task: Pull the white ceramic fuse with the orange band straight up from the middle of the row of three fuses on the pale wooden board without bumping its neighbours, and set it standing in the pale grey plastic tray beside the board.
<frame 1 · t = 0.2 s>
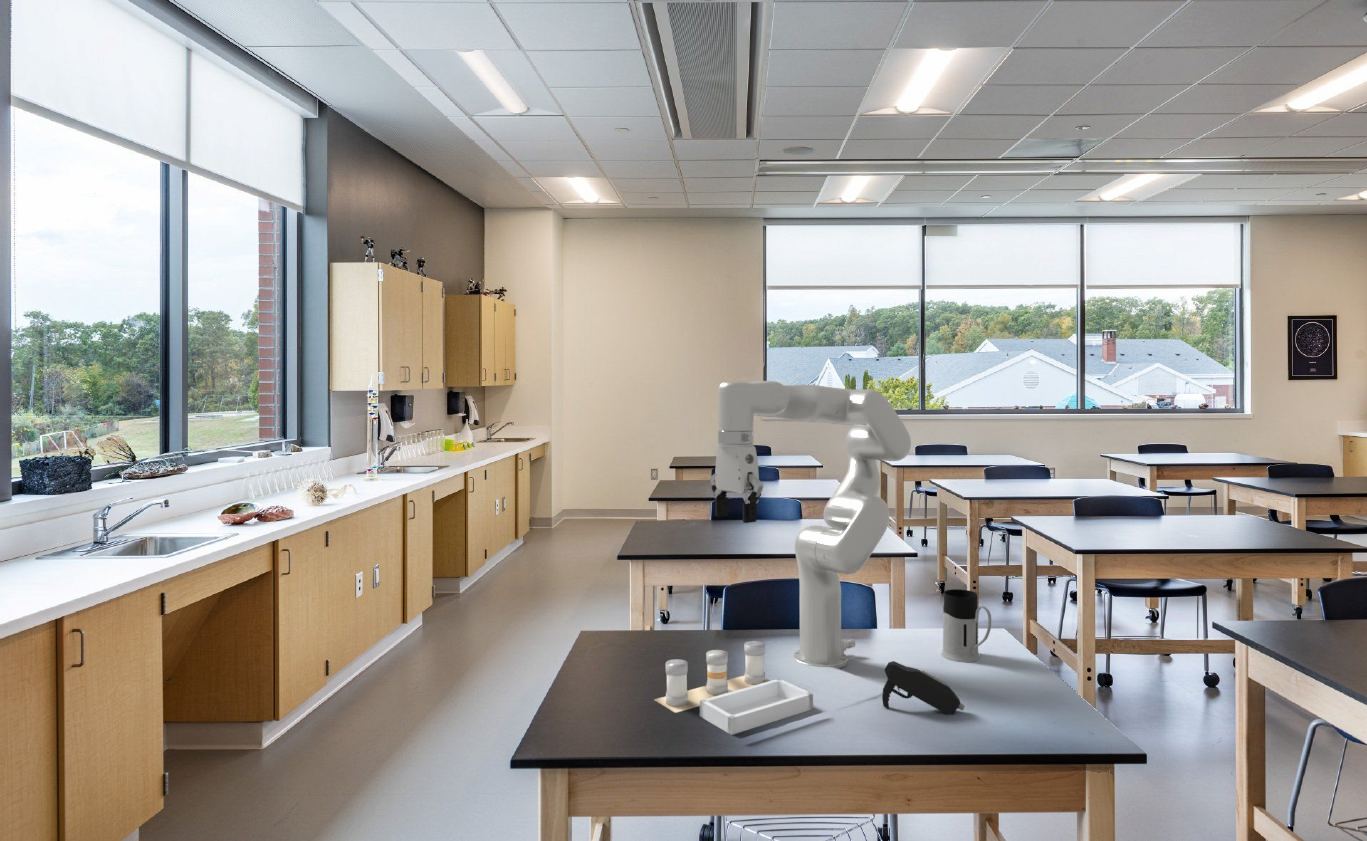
hand: (735, 519, 167), 36 cm above the table, tool pointing down, fingers open, 9 cm apart
fuse 2: (754, 681, 168), point 1 cm above the table, touching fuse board
fuse 1: (676, 702, 157), point 1 cm above the table, touching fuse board
marked fuse: (717, 691, 162), point 1 cm above the table, touching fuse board
tray: (756, 717, 151), on the table
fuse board: (717, 696, 162), on the table
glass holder: (968, 660, 183), on the table
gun: (922, 711, 154), on the table
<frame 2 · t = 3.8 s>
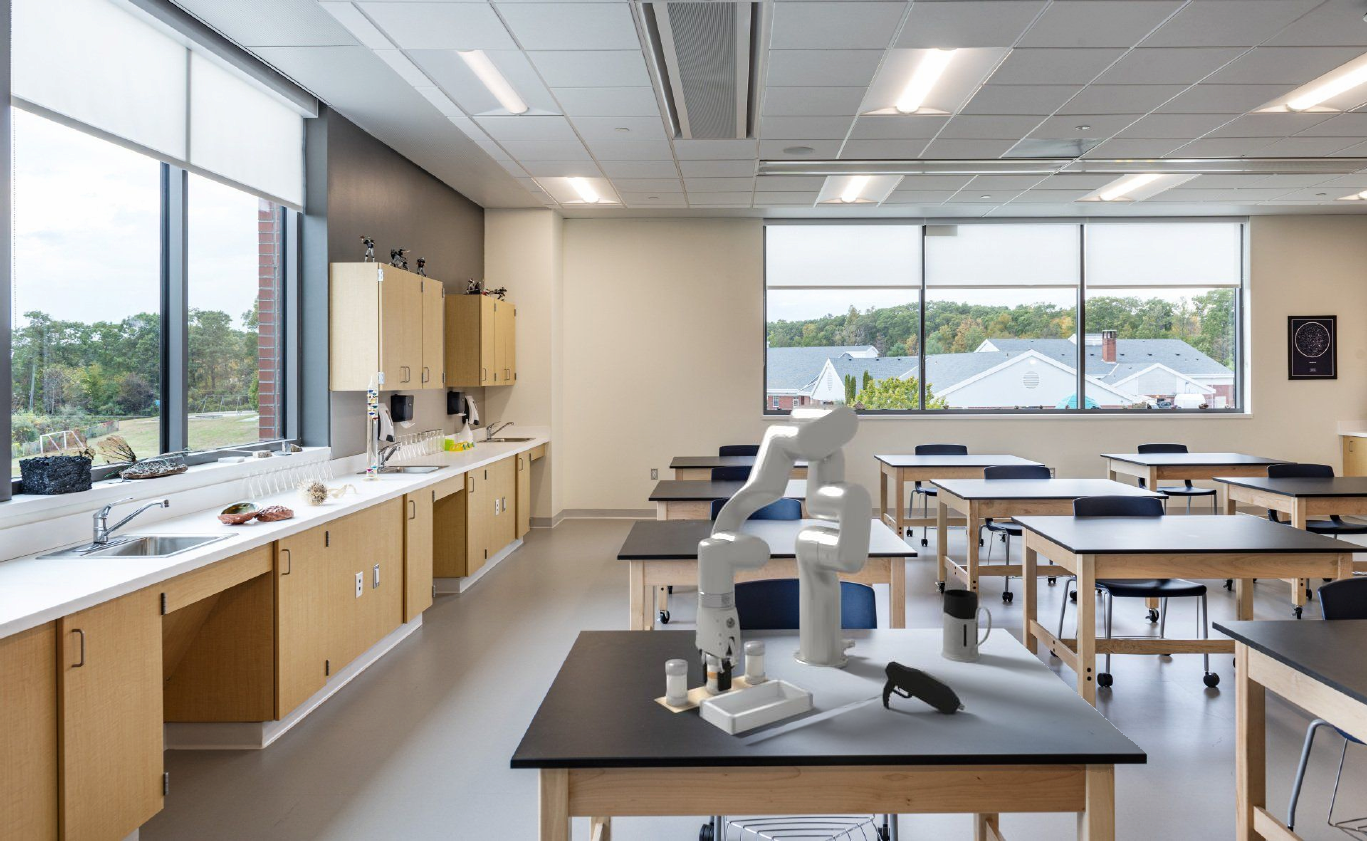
hand: (717, 685, 162), 2 cm above the table, tool pointing down, fingers closed on marked fuse, 4 cm apart
marked fuse: (717, 691, 162), point 1 cm above the table, touching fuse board, gripper
everything else where it was.
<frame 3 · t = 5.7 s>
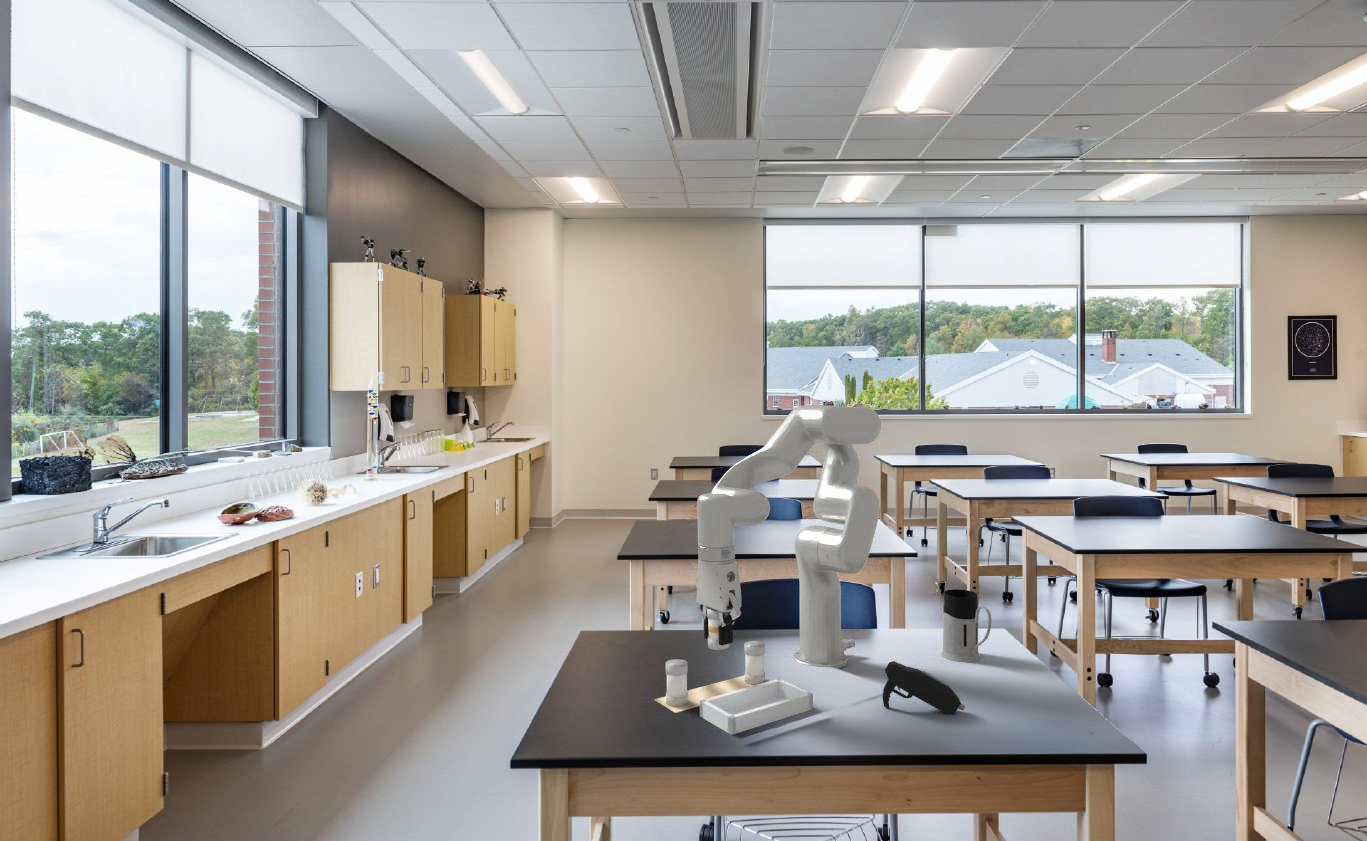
hand: (718, 639, 162), 12 cm above the table, tool pointing down, fingers closed on marked fuse, 4 cm apart
marked fuse: (718, 646, 162), point 10 cm above the table, touching gripper
everything else where it was.
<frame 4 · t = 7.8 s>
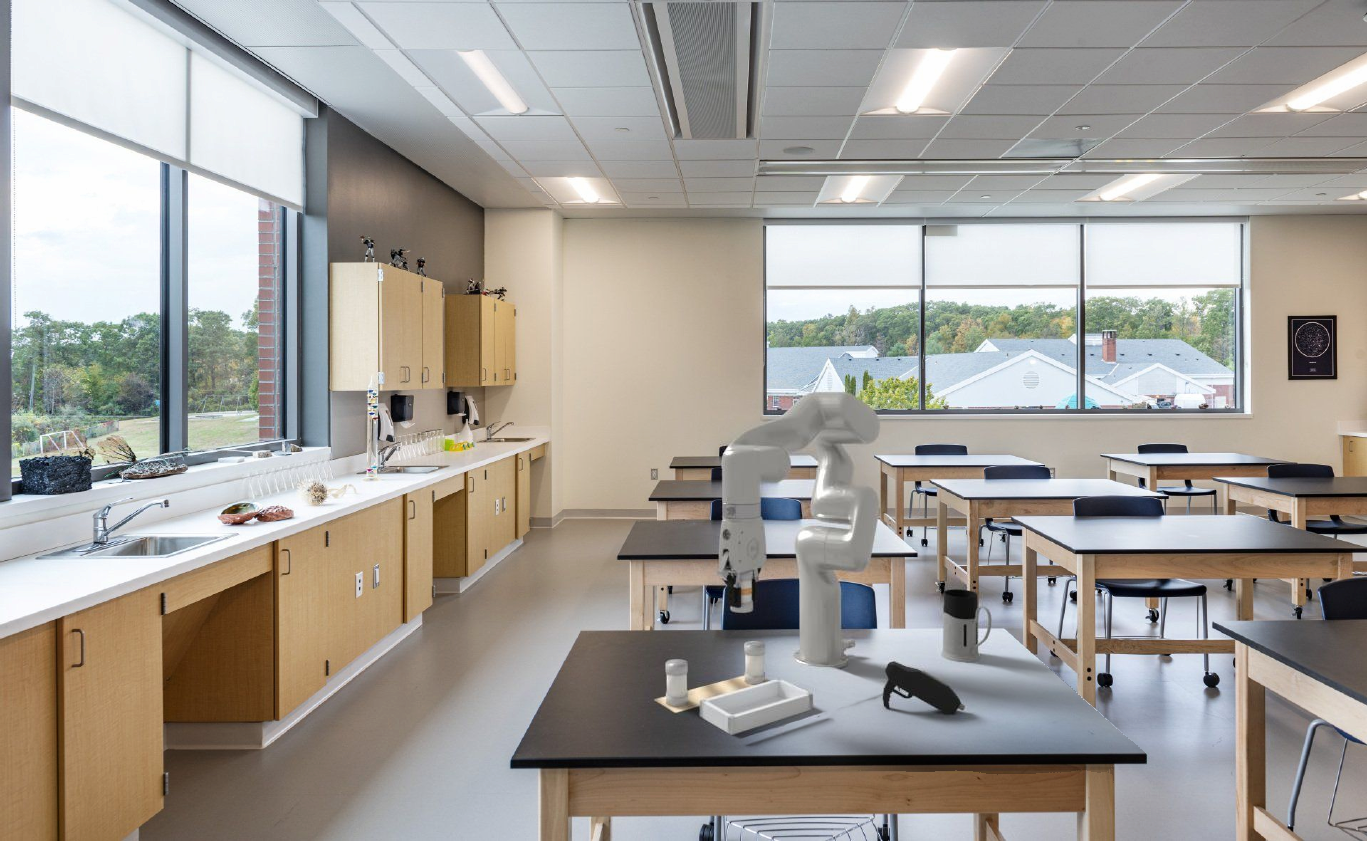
hand: (741, 602, 154), 22 cm above the table, tool pointing down, fingers closed on marked fuse, 4 cm apart
marked fuse: (741, 609, 154), point 20 cm above the table, touching gripper
everything else where it was.
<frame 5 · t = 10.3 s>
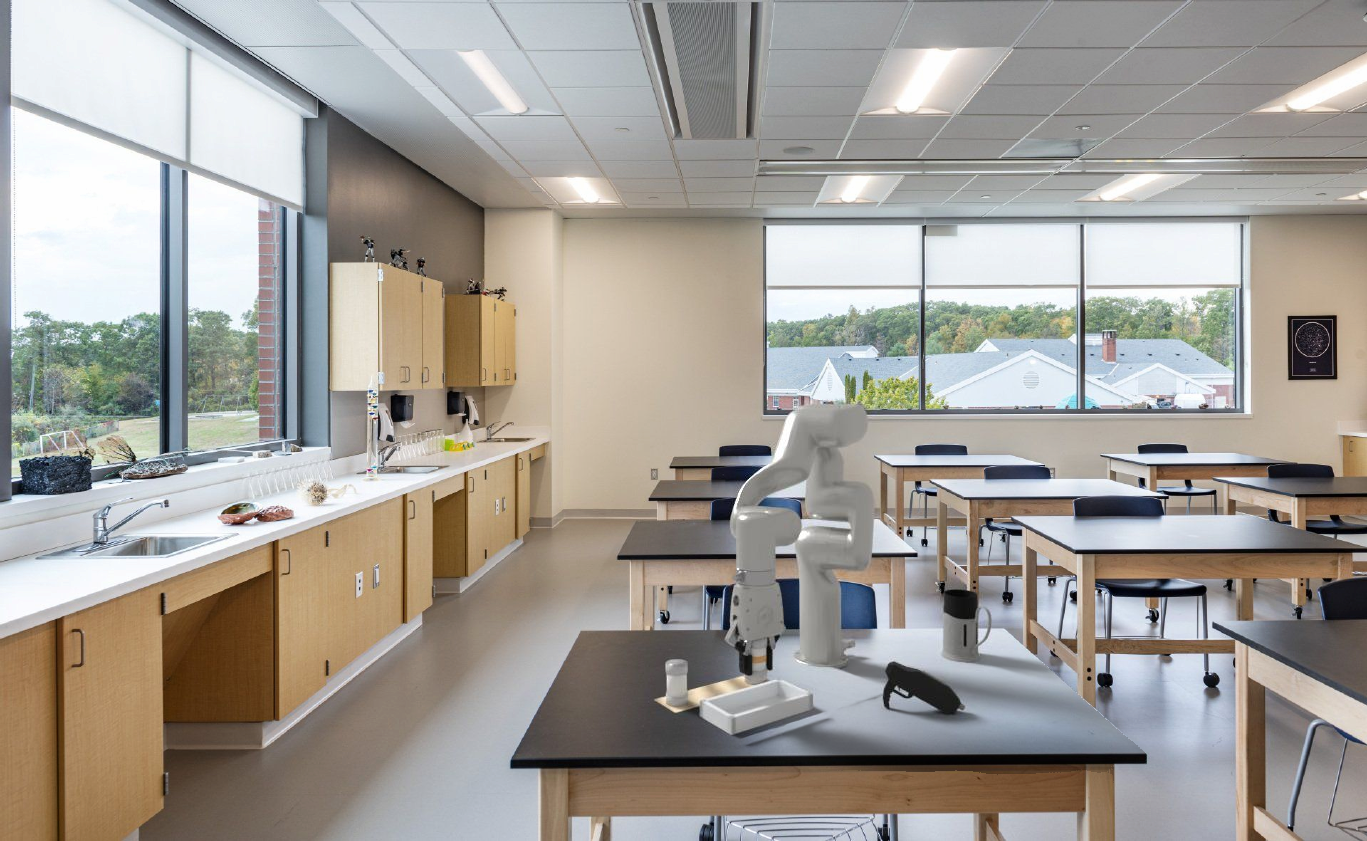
hand: (756, 670, 151), 9 cm above the table, tool pointing down, fingers closed on marked fuse, 4 cm apart
marked fuse: (755, 677, 151), point 8 cm above the table, touching gripper
everything else where it was.
when the fingers open (5 cm above the table, at t = 12.0 s): marked fuse drops 2 cm, resting on tray.
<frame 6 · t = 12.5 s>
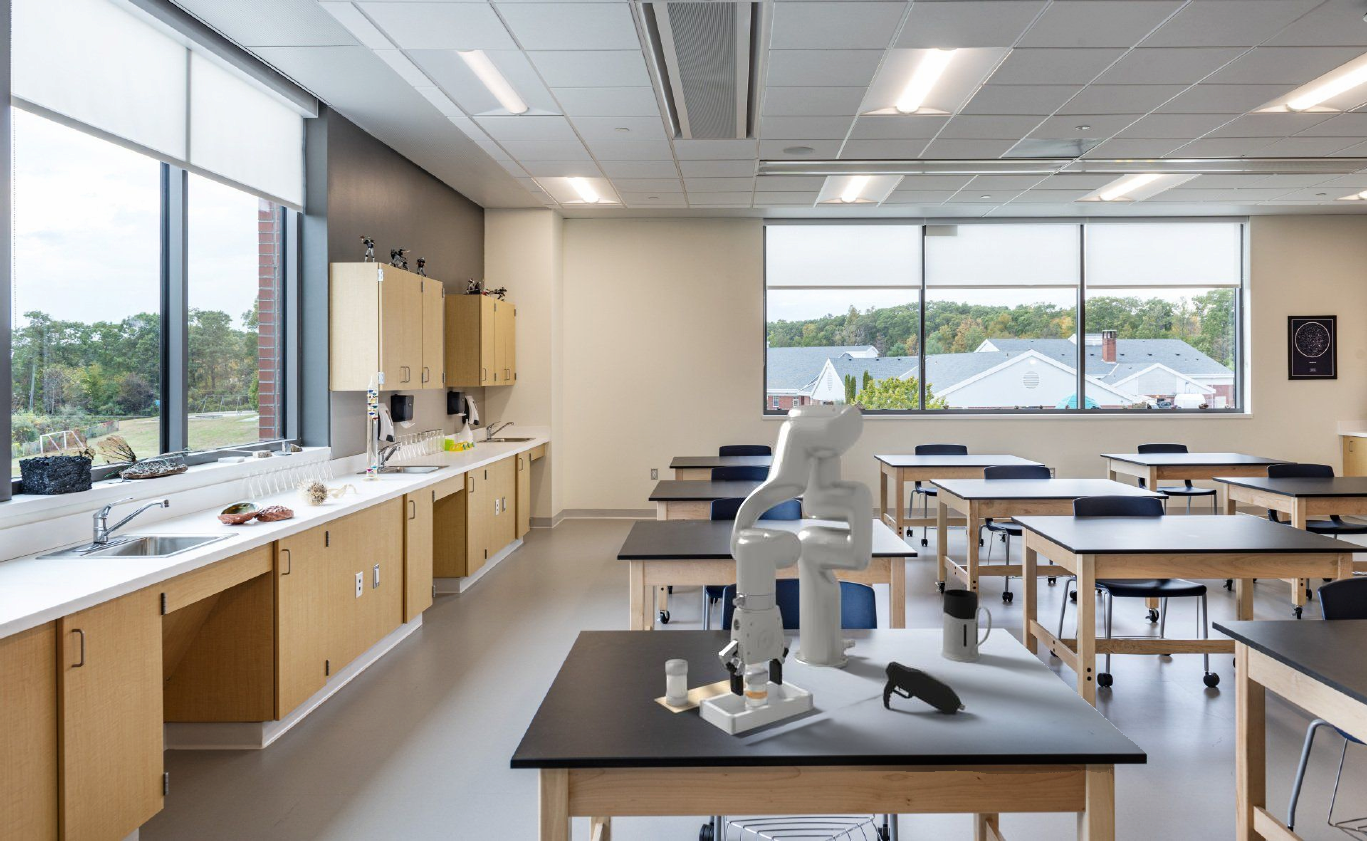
hand: (756, 688, 151), 6 cm above the table, tool pointing down, fingers open, 9 cm apart
marked fuse: (756, 712, 151), point 1 cm above the table, touching tray
everything else where it was.
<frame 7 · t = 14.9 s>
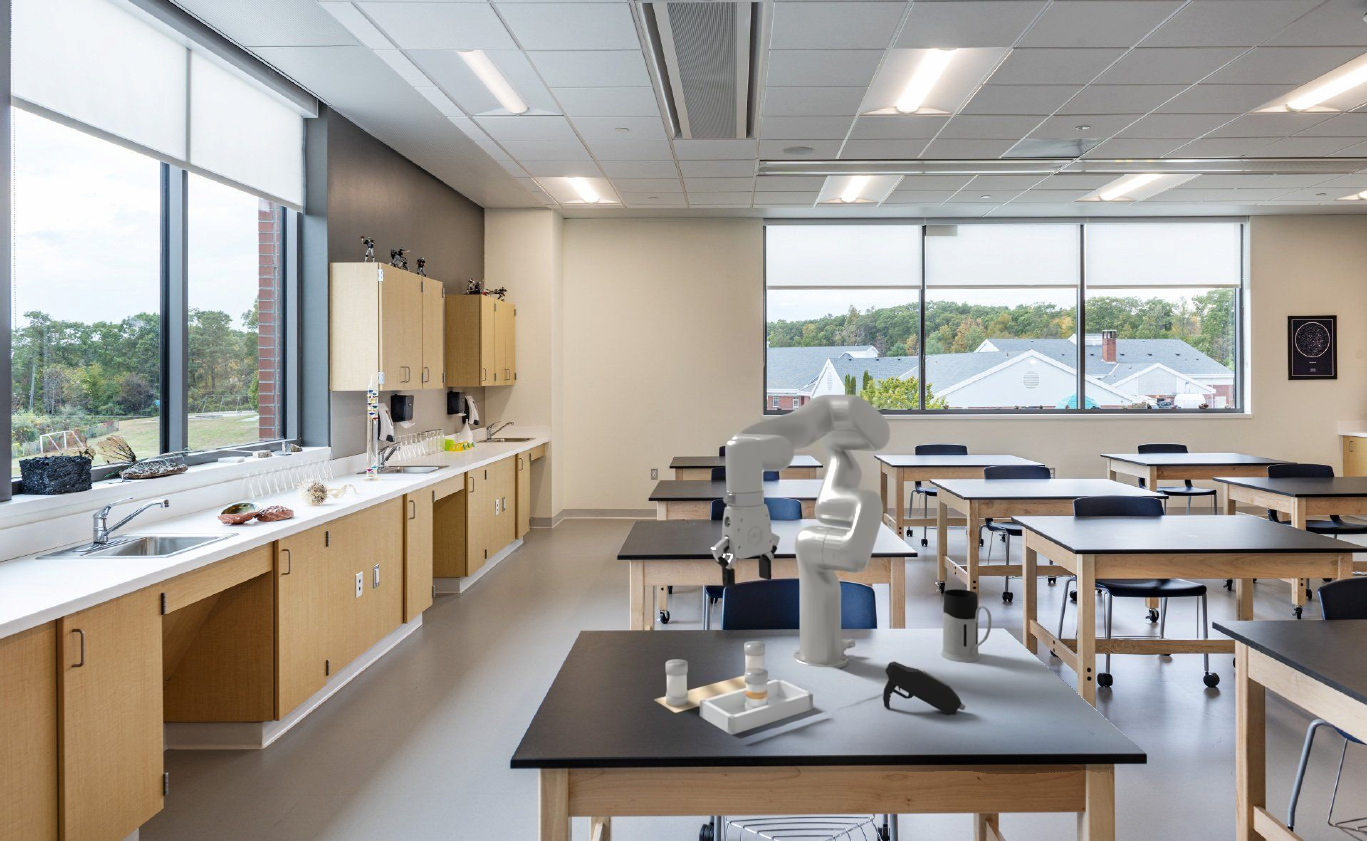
hand: (747, 582, 159), 24 cm above the table, tool pointing down, fingers open, 9 cm apart
nothing on the table moved.
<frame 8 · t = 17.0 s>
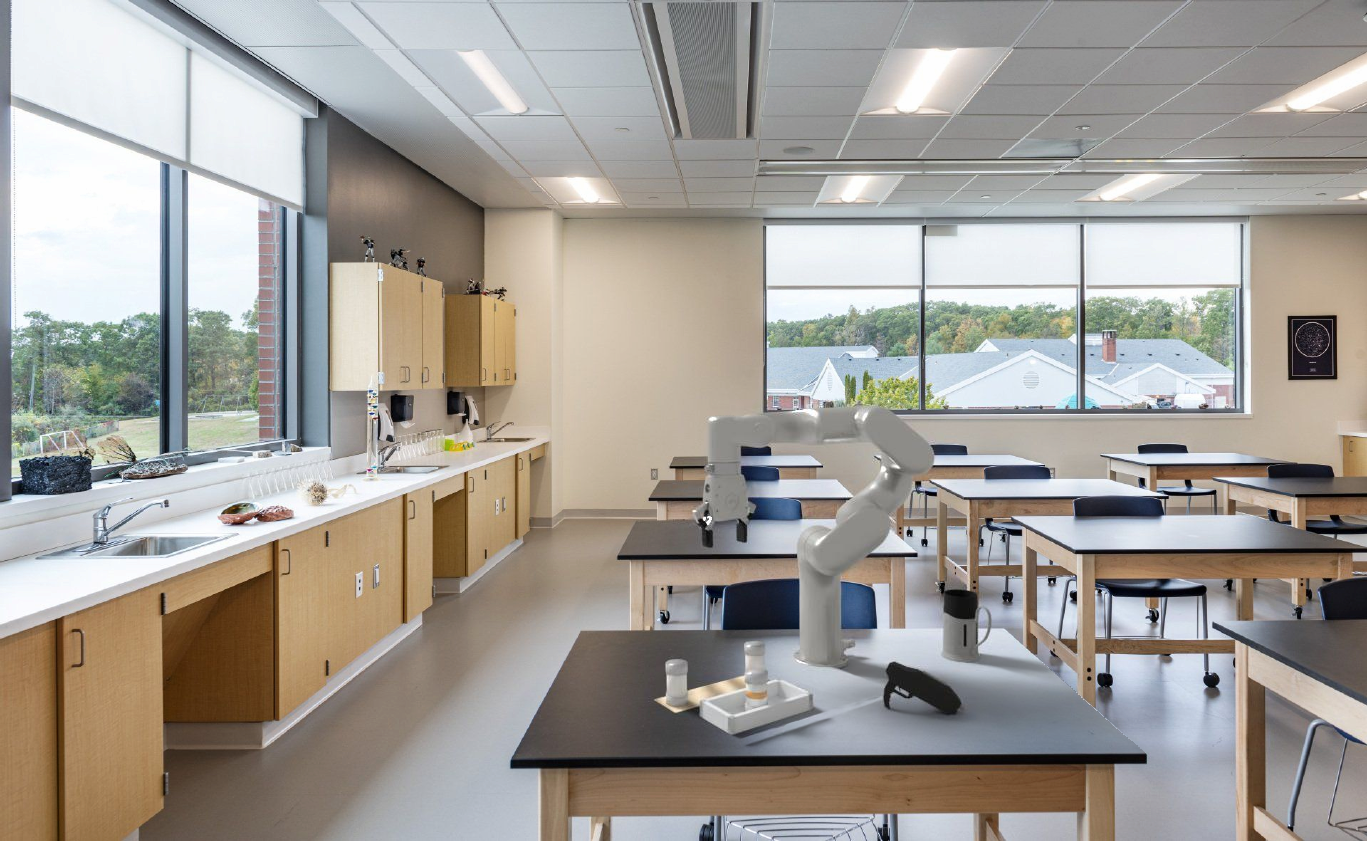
hand: (725, 544, 179), 28 cm above the table, tool pointing down, fingers open, 9 cm apart
nothing on the table moved.
at the end: marked fuse inside the target area on the tray (0.0 cm from its centre), point 1.0 cm above the tray's base; fuse 2 moved 0.0 cm from its start; fuse 1 moved 0.0 cm from its start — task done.
